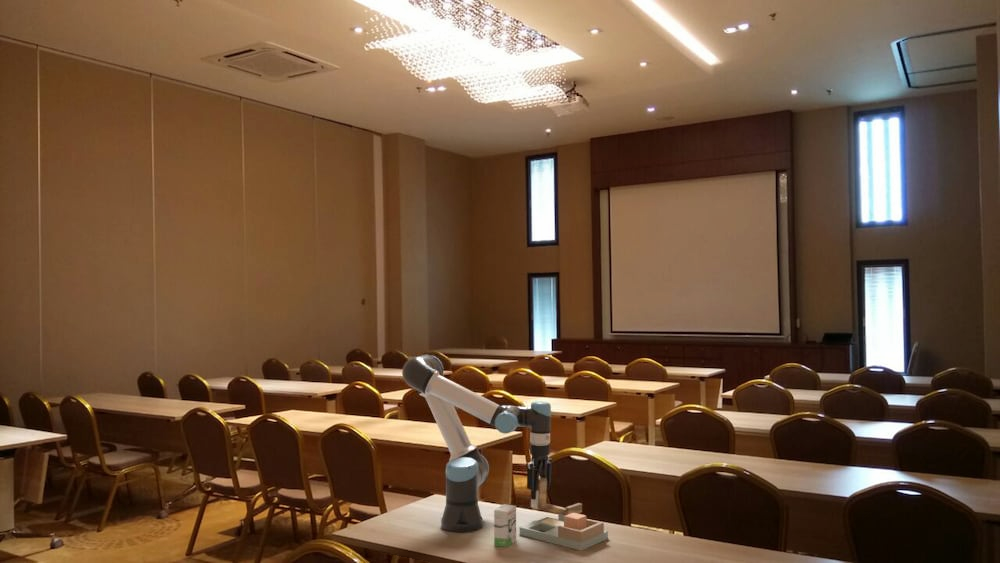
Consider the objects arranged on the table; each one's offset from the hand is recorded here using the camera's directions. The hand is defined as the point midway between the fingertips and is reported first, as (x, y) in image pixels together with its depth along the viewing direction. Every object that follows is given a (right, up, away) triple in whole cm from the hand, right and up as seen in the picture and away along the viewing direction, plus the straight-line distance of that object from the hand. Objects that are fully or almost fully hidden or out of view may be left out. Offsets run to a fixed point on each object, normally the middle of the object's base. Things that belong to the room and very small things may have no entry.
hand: (538, 506), depth 270 cm
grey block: (+10, -5, -2) cm, 11 cm away
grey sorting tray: (+8, -4, -20) cm, 22 cm away
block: (+11, -2, -23) cm, 26 cm away
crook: (+6, -1, -2) cm, 6 cm away
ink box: (-13, -4, -26) cm, 30 cm away
